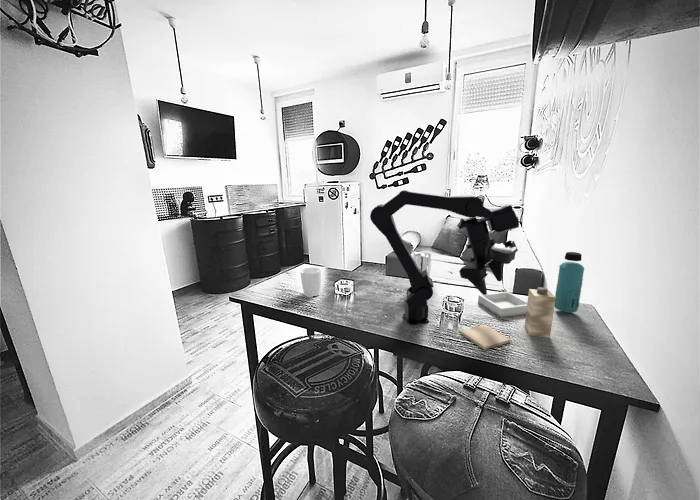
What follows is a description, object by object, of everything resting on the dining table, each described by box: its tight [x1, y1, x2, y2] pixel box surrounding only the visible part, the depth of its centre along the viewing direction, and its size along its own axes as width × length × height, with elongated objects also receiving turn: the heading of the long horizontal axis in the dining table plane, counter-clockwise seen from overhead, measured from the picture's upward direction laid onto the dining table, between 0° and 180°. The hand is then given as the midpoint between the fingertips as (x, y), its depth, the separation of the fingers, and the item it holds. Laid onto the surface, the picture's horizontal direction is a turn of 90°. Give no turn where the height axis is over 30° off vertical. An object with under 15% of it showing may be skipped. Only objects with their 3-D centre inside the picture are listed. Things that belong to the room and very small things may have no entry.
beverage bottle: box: [554, 251, 585, 314], centre depth 91 cm, size 6×7×20 cm
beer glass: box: [412, 251, 432, 277], centre depth 114 cm, size 7×7×15 cm
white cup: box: [300, 267, 322, 298], centre depth 115 cm, size 8×8×10 cm
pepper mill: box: [524, 286, 556, 339], centre depth 81 cm, size 5×5×13 cm
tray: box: [477, 291, 528, 318], centre depth 98 cm, size 12×12×3 cm
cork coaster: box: [459, 324, 511, 351], centre depth 81 cm, size 9×9×1 cm
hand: (492, 287), depth 86 cm, fingers open, 9 cm apart
